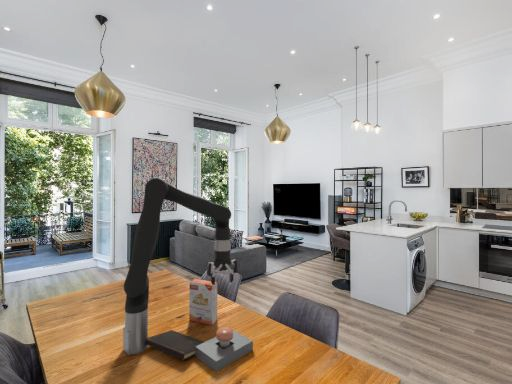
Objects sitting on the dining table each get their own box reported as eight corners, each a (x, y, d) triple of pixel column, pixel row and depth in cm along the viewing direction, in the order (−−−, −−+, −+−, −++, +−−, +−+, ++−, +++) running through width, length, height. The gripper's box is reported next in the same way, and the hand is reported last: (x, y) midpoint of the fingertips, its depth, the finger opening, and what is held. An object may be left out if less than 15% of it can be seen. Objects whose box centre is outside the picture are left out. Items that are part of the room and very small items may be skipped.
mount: (216, 371, 105) (216, 361, 104) (195, 356, 114) (195, 346, 114) (252, 349, 119) (252, 340, 119) (231, 337, 129) (231, 329, 129)
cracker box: (188, 321, 144) (188, 281, 144) (195, 316, 150) (195, 278, 150) (211, 326, 139) (212, 285, 139) (217, 320, 145) (217, 281, 145)
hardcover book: (170, 334, 133) (171, 329, 133) (208, 348, 122) (208, 343, 122) (143, 344, 119) (144, 338, 119) (183, 360, 108) (184, 354, 108)
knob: (223, 351, 112) (223, 337, 112) (213, 344, 116) (213, 331, 116) (236, 344, 117) (236, 331, 117) (225, 338, 122) (225, 325, 121)
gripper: (209, 251, 122) (209, 288, 122) (239, 249, 128) (239, 283, 128) (205, 248, 129) (205, 282, 129) (234, 246, 135) (233, 278, 135)
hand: (222, 283), depth 129 cm, fingers open, 8 cm apart
